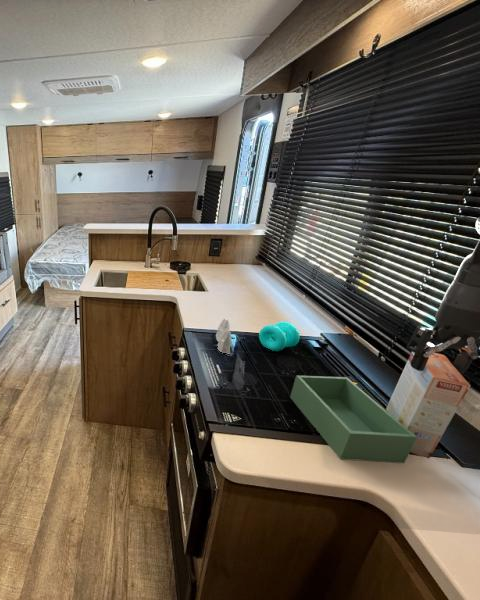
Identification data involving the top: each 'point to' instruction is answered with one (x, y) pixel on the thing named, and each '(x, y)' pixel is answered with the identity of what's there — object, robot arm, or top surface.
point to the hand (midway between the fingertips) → (436, 369)
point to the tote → (351, 420)
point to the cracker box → (427, 400)
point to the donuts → (279, 336)
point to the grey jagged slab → (224, 337)
